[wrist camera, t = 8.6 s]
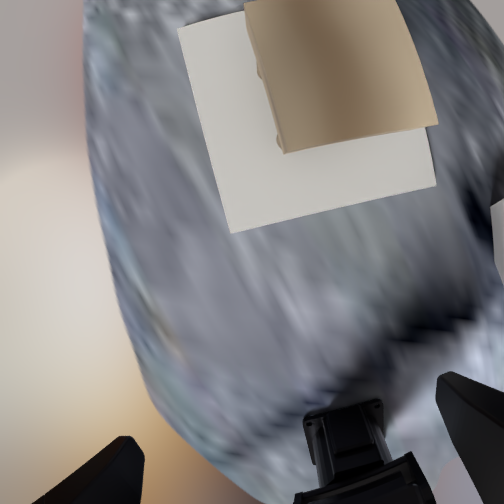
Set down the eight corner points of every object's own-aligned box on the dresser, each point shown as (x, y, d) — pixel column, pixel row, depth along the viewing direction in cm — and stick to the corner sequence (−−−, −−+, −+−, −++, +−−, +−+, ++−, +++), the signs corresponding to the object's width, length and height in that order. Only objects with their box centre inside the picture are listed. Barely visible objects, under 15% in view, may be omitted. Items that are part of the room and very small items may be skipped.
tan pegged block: (348, 44, 15) (390, -11, 8) (377, 137, 17) (438, 124, 10) (249, 60, 16) (243, 3, 9) (277, 158, 17) (288, 151, 10)
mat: (430, 184, 18) (436, 185, 17) (231, 231, 19) (230, 233, 18) (375, 1, 15) (379, -4, 14) (180, 33, 16) (176, 28, 15)
